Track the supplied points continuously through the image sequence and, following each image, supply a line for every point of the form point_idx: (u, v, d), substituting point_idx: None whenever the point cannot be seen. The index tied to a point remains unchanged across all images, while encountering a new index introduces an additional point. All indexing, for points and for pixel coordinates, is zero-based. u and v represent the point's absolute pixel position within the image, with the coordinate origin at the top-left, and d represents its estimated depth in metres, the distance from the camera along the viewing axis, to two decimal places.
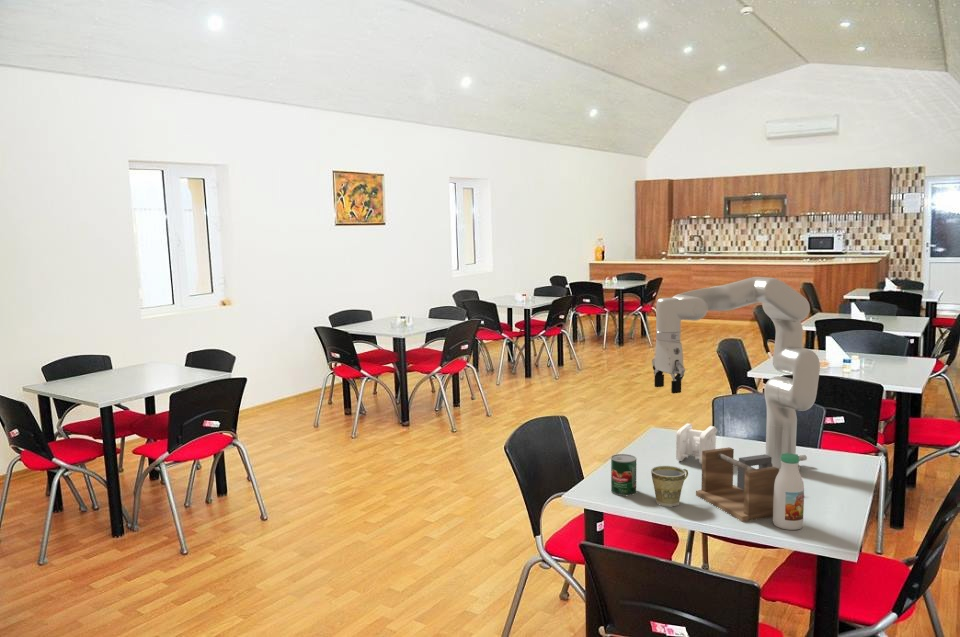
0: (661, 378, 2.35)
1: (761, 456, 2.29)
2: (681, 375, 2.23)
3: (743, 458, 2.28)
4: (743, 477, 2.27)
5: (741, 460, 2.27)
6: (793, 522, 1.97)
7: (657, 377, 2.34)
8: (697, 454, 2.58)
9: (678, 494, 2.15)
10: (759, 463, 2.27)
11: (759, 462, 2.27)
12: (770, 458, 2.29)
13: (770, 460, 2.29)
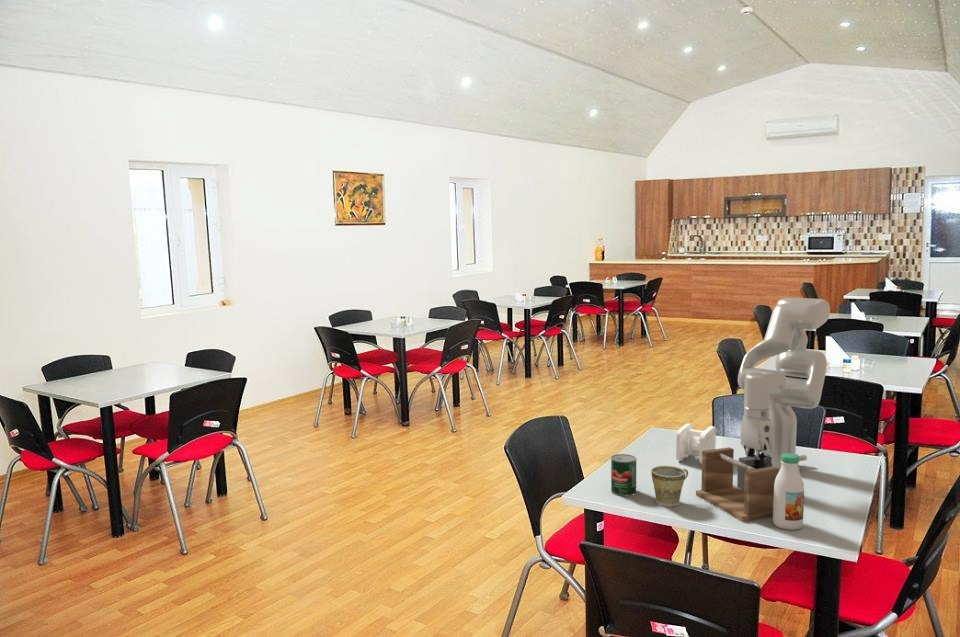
0: None
1: None
2: None
3: (743, 458, 2.28)
4: (743, 477, 2.27)
5: (741, 460, 2.27)
6: (793, 522, 1.97)
7: None
8: (697, 454, 2.58)
9: (678, 494, 2.15)
10: None
11: None
12: (770, 458, 2.29)
13: (770, 460, 2.29)
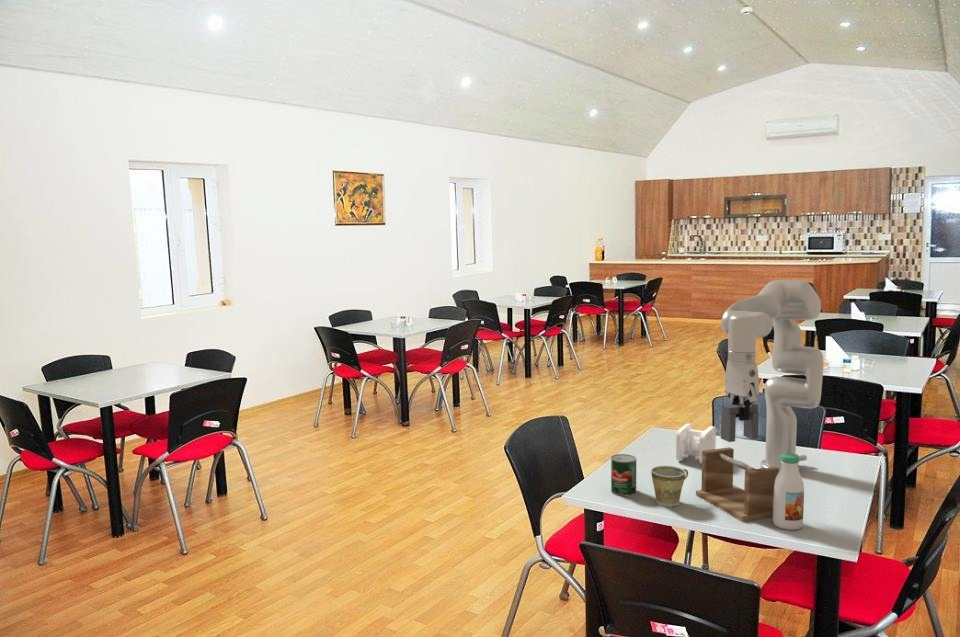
0: None
1: None
2: None
3: (727, 406, 2.11)
4: (727, 426, 2.11)
5: (725, 408, 2.11)
6: (793, 522, 1.97)
7: None
8: (697, 454, 2.58)
9: (678, 494, 2.15)
10: None
11: None
12: (756, 406, 2.12)
13: (756, 409, 2.12)
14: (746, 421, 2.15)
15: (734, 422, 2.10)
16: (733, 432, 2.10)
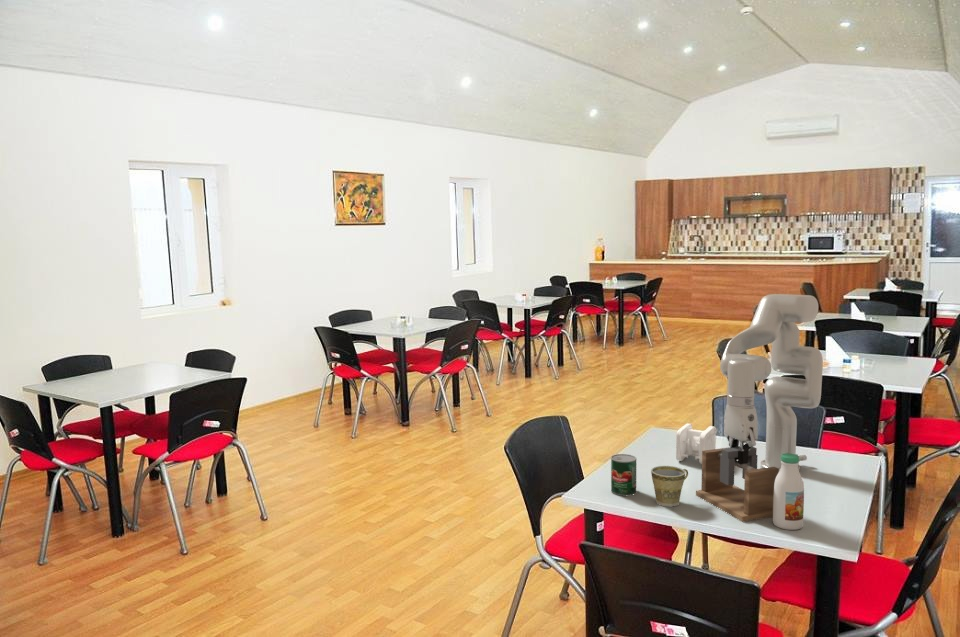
0: None
1: None
2: None
3: (726, 449, 2.13)
4: (726, 469, 2.12)
5: (724, 451, 2.13)
6: (793, 522, 1.97)
7: None
8: (697, 454, 2.58)
9: (678, 494, 2.15)
10: None
11: None
12: (755, 449, 2.14)
13: (754, 452, 2.14)
14: None
15: (733, 466, 2.11)
16: (732, 476, 2.12)
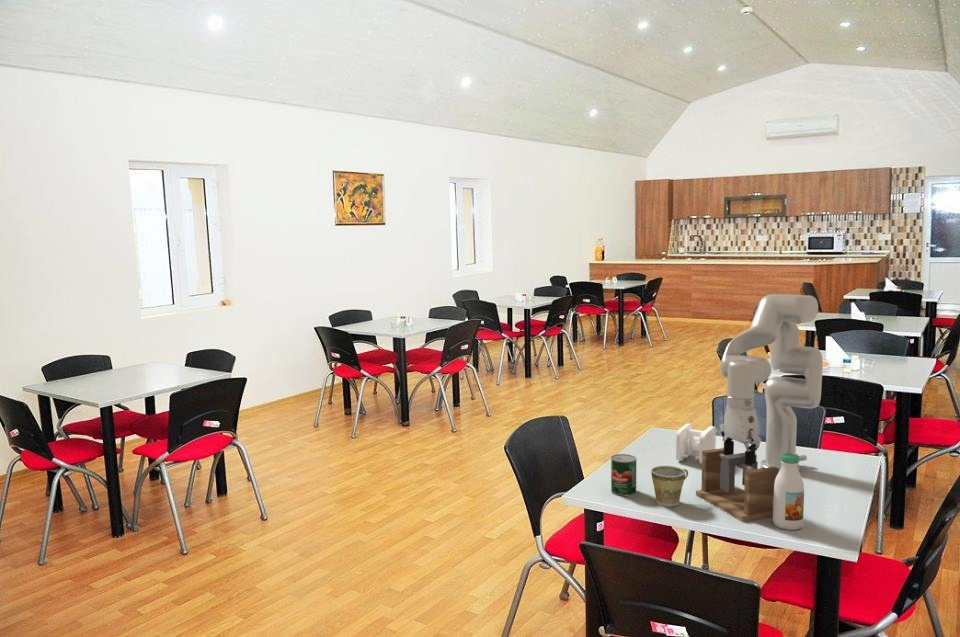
0: (731, 445, 2.18)
1: None
2: (756, 446, 2.06)
3: (726, 456, 2.13)
4: (726, 476, 2.12)
5: (724, 458, 2.13)
6: (793, 522, 1.97)
7: (727, 444, 2.18)
8: (697, 454, 2.58)
9: (678, 494, 2.15)
10: (743, 461, 2.13)
11: (743, 460, 2.13)
12: (755, 456, 2.14)
13: (755, 459, 2.14)
14: (745, 470, 2.16)
15: (733, 472, 2.11)
16: (732, 482, 2.12)
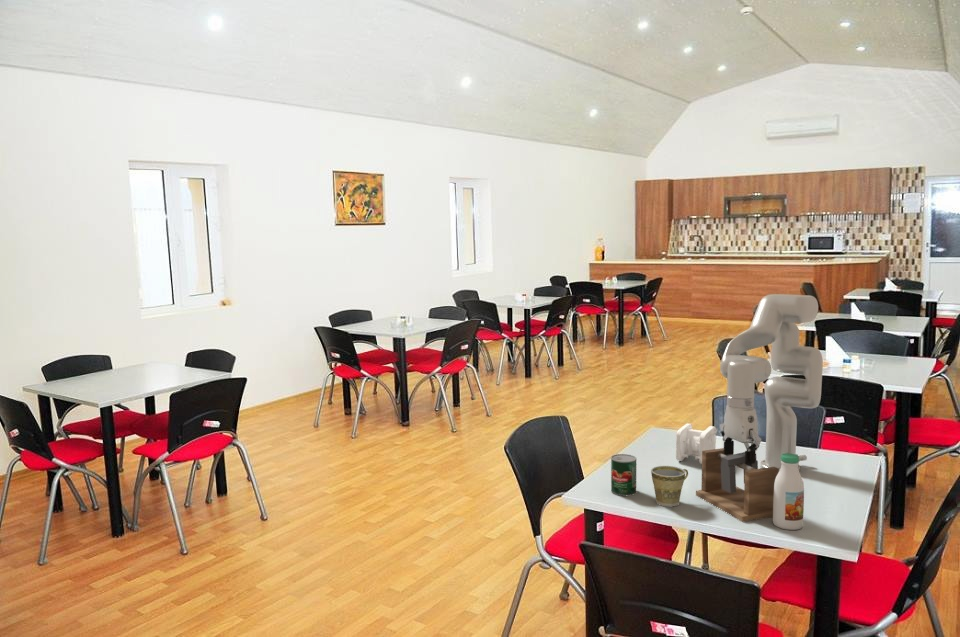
0: (731, 445, 2.18)
1: None
2: (756, 446, 2.06)
3: (726, 457, 2.13)
4: (727, 477, 2.12)
5: (724, 459, 2.13)
6: (793, 522, 1.97)
7: (727, 444, 2.18)
8: (697, 454, 2.58)
9: (678, 494, 2.15)
10: (743, 461, 2.13)
11: (743, 460, 2.13)
12: (755, 455, 2.14)
13: None
14: None
15: (734, 473, 2.12)
16: (733, 483, 2.12)
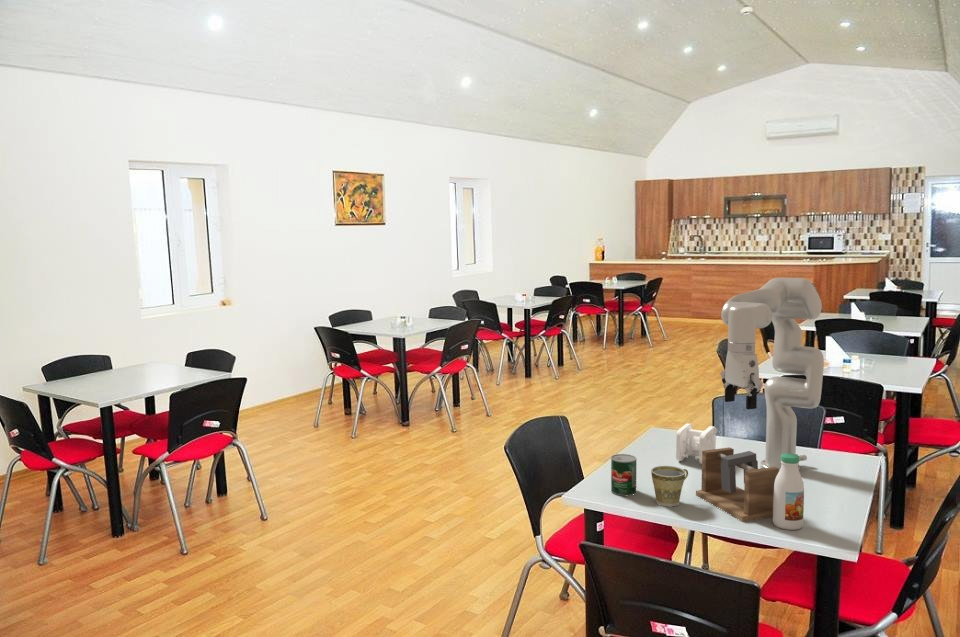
0: (732, 392, 2.17)
1: (745, 453, 2.15)
2: (758, 390, 2.05)
3: (726, 457, 2.13)
4: (727, 477, 2.12)
5: (724, 460, 2.13)
6: (793, 522, 1.97)
7: (728, 391, 2.17)
8: (697, 454, 2.58)
9: (678, 494, 2.15)
10: (743, 461, 2.13)
11: (743, 460, 2.13)
12: (755, 455, 2.14)
13: (754, 458, 2.14)
14: None
15: (734, 473, 2.12)
16: (733, 483, 2.12)
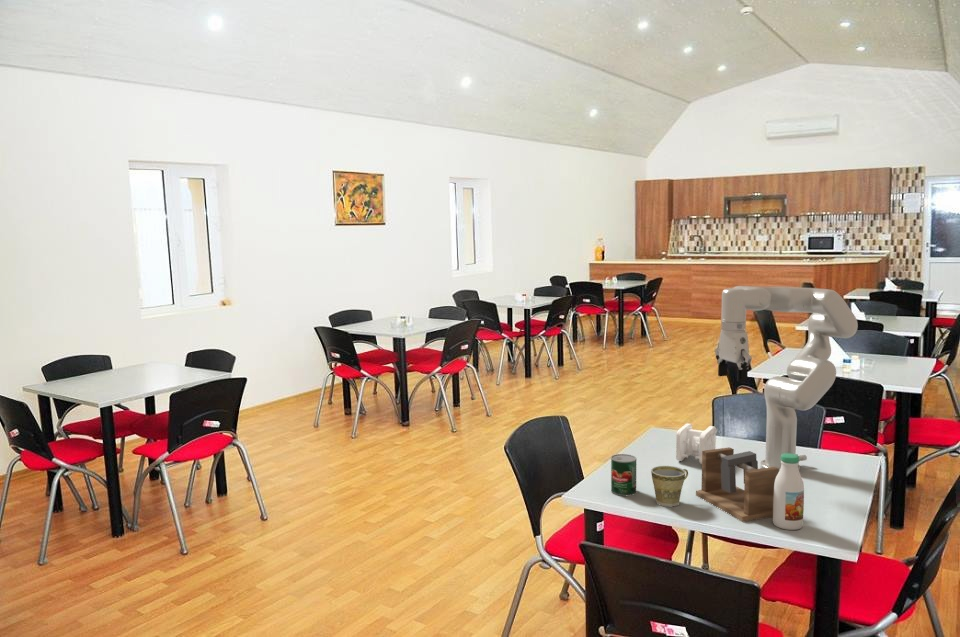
0: (725, 367, 2.40)
1: (745, 453, 2.15)
2: (748, 364, 2.28)
3: (726, 457, 2.13)
4: (727, 477, 2.12)
5: (724, 459, 2.13)
6: (793, 522, 1.97)
7: (721, 366, 2.39)
8: (697, 454, 2.58)
9: (678, 494, 2.15)
10: (743, 461, 2.13)
11: (743, 460, 2.13)
12: (755, 455, 2.14)
13: (754, 458, 2.14)
14: None
15: (734, 473, 2.11)
16: (733, 483, 2.12)
